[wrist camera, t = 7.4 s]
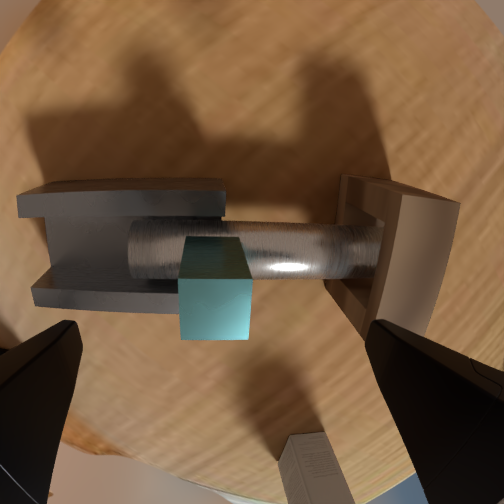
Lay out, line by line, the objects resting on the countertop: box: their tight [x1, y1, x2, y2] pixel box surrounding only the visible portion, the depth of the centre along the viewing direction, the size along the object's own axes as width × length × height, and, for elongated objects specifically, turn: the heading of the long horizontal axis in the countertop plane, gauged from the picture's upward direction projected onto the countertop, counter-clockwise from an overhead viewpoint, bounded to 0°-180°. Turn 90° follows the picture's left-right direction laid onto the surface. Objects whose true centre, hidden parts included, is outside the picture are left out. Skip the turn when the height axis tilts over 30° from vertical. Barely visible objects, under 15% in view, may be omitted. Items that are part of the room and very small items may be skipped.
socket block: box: [325, 174, 460, 341], centre depth 17 cm, size 4×8×7 cm, turn 176°
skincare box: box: [278, 432, 355, 504], centre depth 23 cm, size 6×4×12 cm
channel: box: [16, 178, 226, 314], centre depth 16 cm, size 11×6×4 cm, turn 86°
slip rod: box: [128, 220, 384, 340], centre depth 14 cm, size 15×3×8 cm, turn 86°
